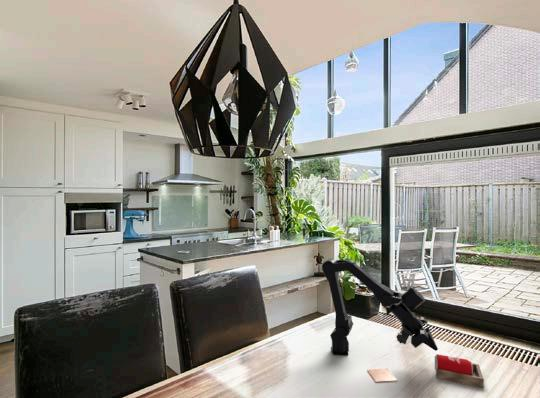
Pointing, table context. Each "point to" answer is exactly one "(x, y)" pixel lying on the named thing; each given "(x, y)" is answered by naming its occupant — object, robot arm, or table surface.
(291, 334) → the table surface
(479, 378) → the walnut corral
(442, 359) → the beverage can
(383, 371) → the terracotta tile
